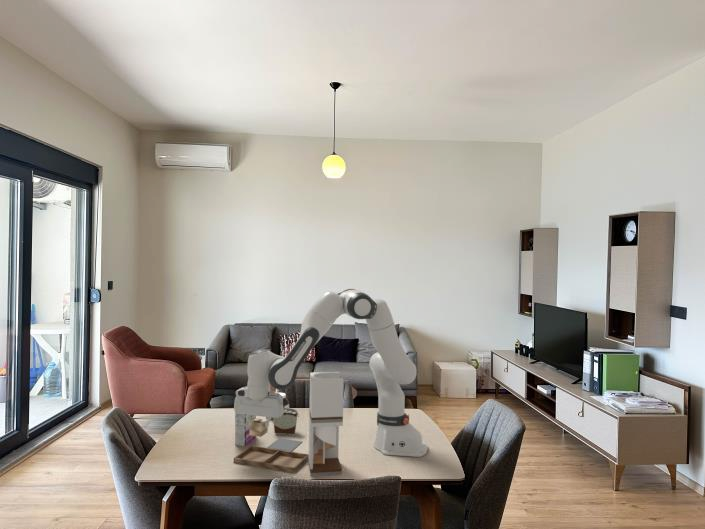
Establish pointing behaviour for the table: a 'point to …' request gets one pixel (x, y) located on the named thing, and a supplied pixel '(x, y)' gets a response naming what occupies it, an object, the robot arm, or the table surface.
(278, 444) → the gray mat
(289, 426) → the food container
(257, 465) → the walnut organizer
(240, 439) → the candy bar box
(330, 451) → the display case
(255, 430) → the maple block
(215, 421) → the table surface
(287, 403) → the spread jar
